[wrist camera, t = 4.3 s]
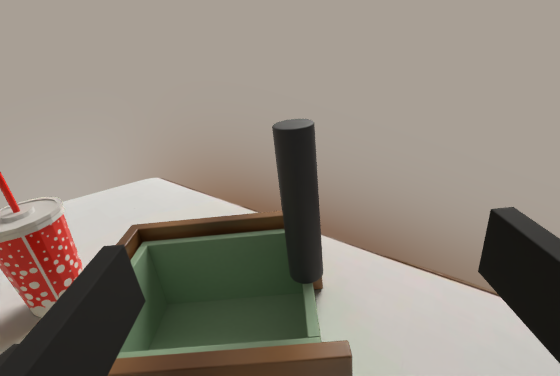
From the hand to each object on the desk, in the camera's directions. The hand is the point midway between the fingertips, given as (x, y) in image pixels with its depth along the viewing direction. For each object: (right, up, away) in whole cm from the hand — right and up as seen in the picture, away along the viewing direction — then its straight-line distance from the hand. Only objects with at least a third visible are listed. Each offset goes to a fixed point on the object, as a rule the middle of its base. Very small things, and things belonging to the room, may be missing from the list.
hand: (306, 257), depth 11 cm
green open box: (-5, -9, +10) cm, 14 cm away
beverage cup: (-21, -8, +17) cm, 28 cm away
